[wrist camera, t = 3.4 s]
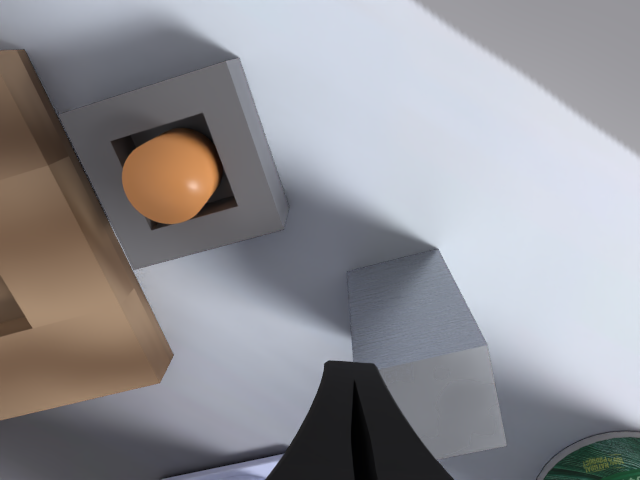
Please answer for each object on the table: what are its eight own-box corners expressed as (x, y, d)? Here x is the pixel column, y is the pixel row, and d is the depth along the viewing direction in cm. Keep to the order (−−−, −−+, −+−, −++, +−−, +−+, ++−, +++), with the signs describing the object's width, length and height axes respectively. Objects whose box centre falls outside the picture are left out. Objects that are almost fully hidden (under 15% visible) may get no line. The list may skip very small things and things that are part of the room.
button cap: (233, 190, 18) (220, 211, 16) (165, 209, 19) (143, 232, 16) (206, 118, 17) (188, 130, 15) (135, 140, 18) (107, 154, 15)
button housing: (289, 207, 20) (283, 229, 18) (155, 244, 21) (133, 270, 18) (239, 57, 18) (225, 61, 15) (92, 105, 18) (57, 114, 16)
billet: (455, 326, 22) (506, 446, 16) (369, 345, 22) (385, 469, 16) (438, 248, 21) (487, 344, 14) (346, 271, 21) (354, 374, 15)
